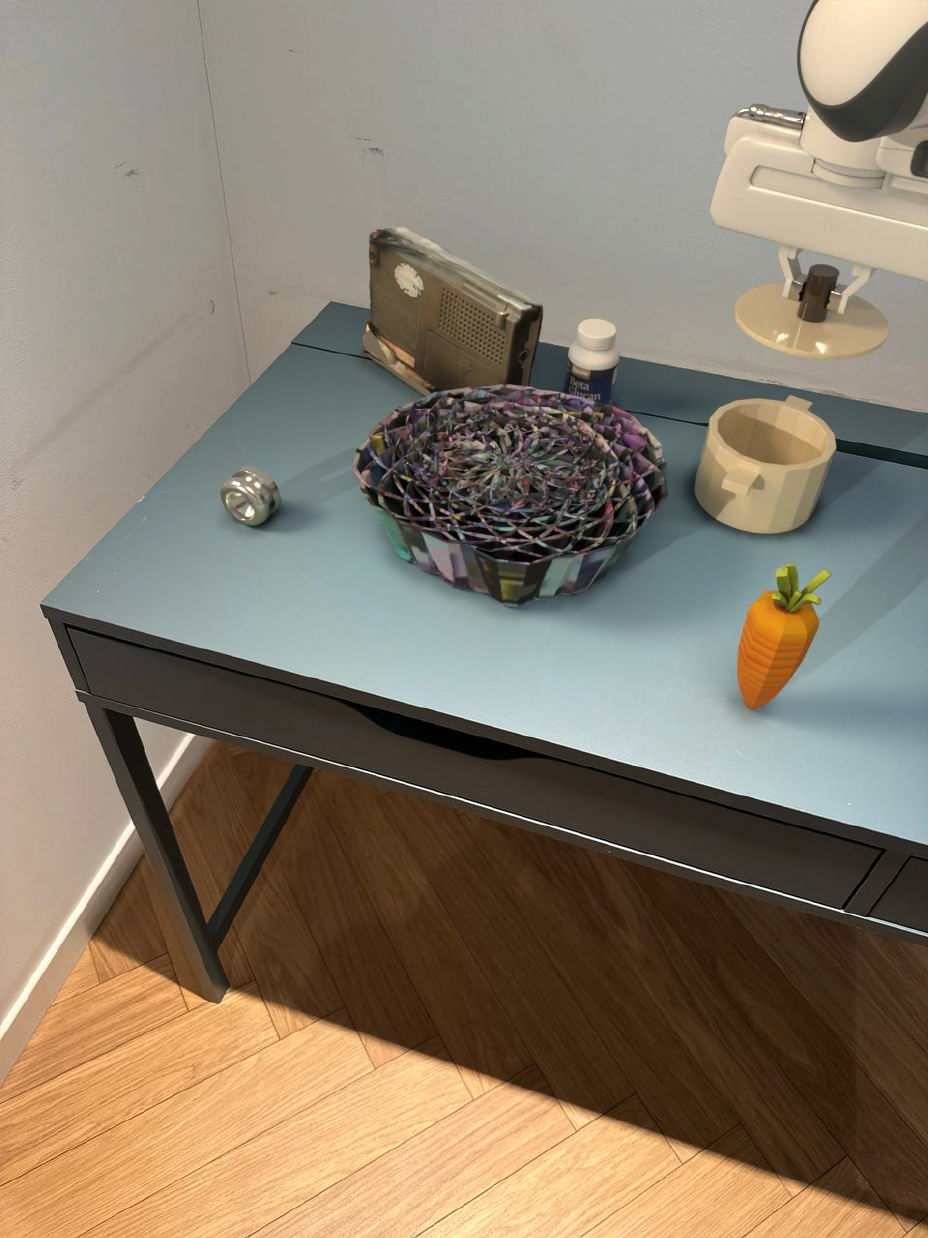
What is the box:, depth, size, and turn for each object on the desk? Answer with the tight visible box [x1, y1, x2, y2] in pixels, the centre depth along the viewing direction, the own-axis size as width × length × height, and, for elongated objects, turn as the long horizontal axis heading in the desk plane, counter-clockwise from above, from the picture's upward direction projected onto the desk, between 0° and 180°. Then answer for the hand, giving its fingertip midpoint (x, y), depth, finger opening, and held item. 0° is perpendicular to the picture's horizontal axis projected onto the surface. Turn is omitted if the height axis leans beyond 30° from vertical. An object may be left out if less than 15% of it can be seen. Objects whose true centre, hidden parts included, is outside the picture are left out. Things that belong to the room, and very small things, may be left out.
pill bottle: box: [563, 318, 620, 406], centre depth 102 cm, size 5×5×10 cm
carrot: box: [736, 563, 833, 710], centre depth 71 cm, size 5×5×15 cm
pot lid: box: [733, 263, 890, 361], centre depth 80 cm, size 13×13×5 cm
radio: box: [362, 225, 544, 397], centre depth 103 cm, size 23×9×15 cm, turn 38°
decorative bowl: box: [351, 384, 669, 607], centre depth 87 cm, size 26×28×10 cm
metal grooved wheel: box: [219, 465, 282, 526], centre depth 89 cm, size 5×3×5 cm, turn 64°
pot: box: [694, 394, 837, 535], centre depth 93 cm, size 12×17×8 cm
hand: (815, 303), depth 80 cm, fingers closed on pot lid, 2 cm apart
